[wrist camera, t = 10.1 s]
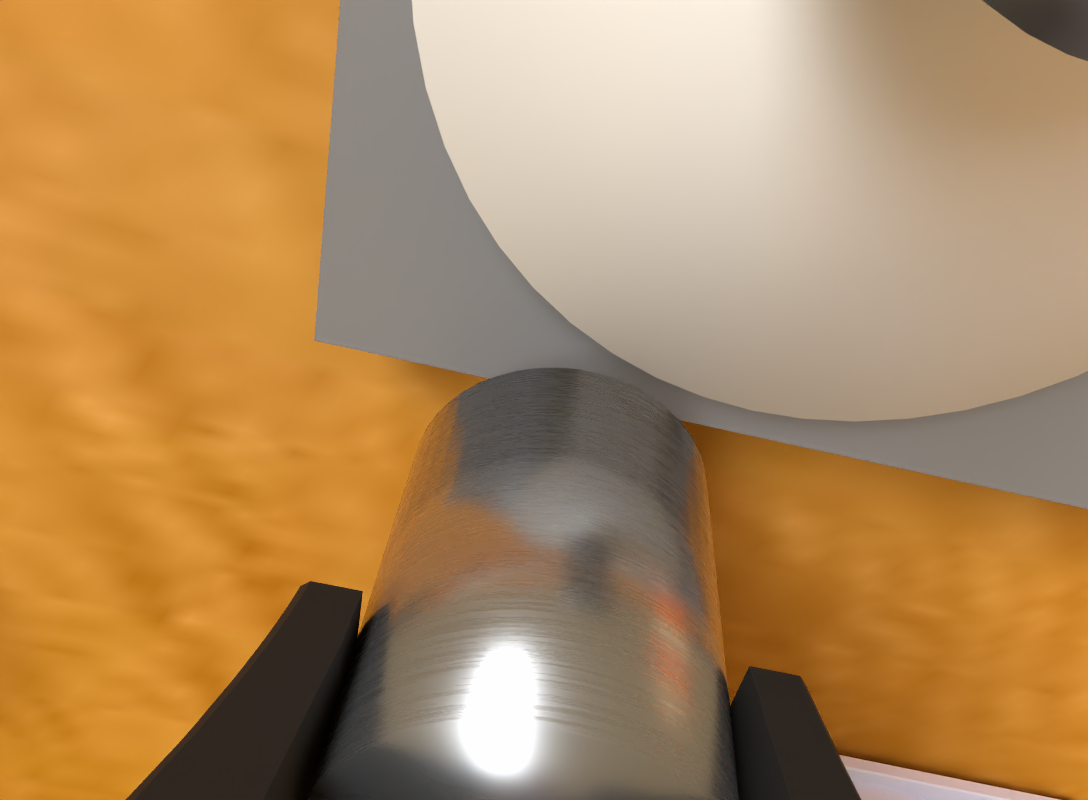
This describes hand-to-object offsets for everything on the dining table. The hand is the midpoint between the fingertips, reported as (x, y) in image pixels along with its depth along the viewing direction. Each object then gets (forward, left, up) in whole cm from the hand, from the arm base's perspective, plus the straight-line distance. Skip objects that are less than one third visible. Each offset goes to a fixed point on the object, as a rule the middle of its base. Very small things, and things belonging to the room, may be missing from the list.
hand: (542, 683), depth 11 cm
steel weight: (0, 0, -4) cm, 4 cm away
